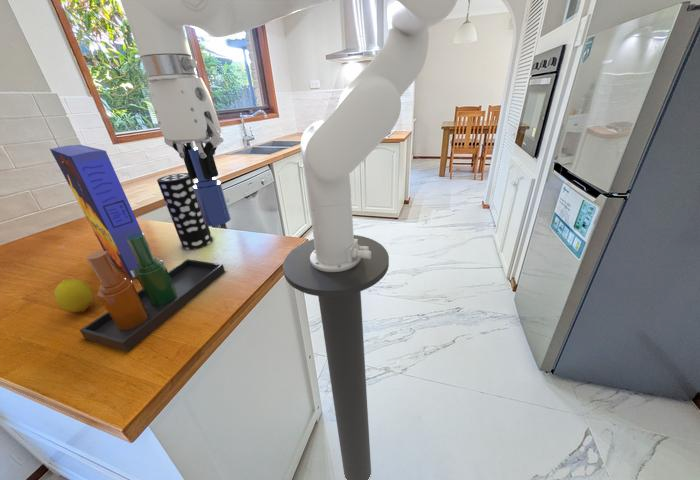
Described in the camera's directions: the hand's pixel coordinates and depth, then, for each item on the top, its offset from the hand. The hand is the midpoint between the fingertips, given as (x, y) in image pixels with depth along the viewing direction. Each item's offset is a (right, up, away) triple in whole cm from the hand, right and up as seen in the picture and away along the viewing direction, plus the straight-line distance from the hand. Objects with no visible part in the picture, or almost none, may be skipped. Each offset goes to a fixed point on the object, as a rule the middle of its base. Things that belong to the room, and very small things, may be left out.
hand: (204, 176), depth 57 cm
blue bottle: (+1, -9, +4) cm, 10 cm away
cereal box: (-31, -19, +22) cm, 43 cm away
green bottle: (-11, -25, +5) cm, 28 cm away
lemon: (-28, -28, +4) cm, 39 cm away
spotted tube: (-17, -14, +30) cm, 37 cm away
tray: (-11, -26, +5) cm, 29 cm away
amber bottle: (-14, -28, -1) cm, 31 cm away
